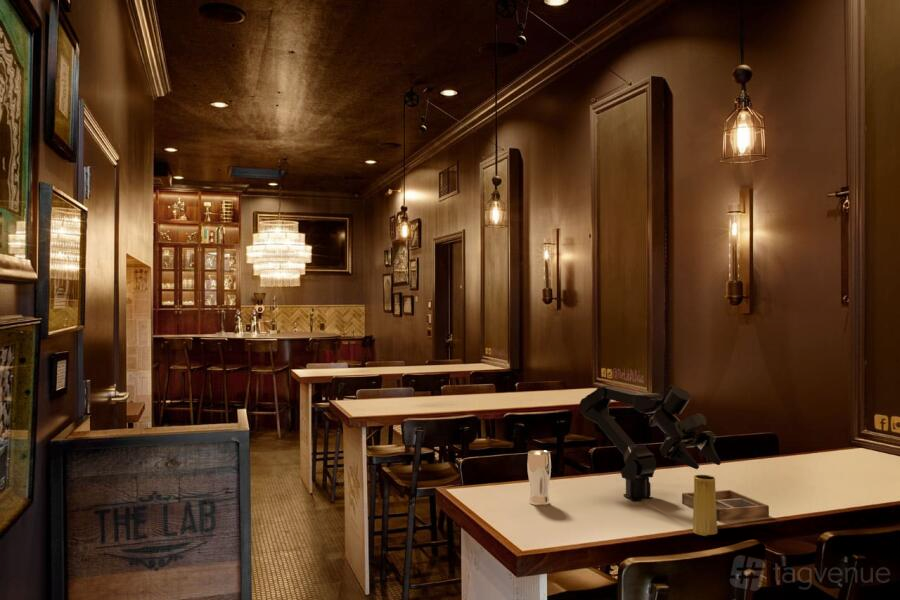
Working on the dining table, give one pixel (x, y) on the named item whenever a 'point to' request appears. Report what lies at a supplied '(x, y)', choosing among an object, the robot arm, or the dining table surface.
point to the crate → (735, 511)
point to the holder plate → (734, 503)
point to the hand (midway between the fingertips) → (709, 466)
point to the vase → (704, 505)
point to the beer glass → (539, 476)
